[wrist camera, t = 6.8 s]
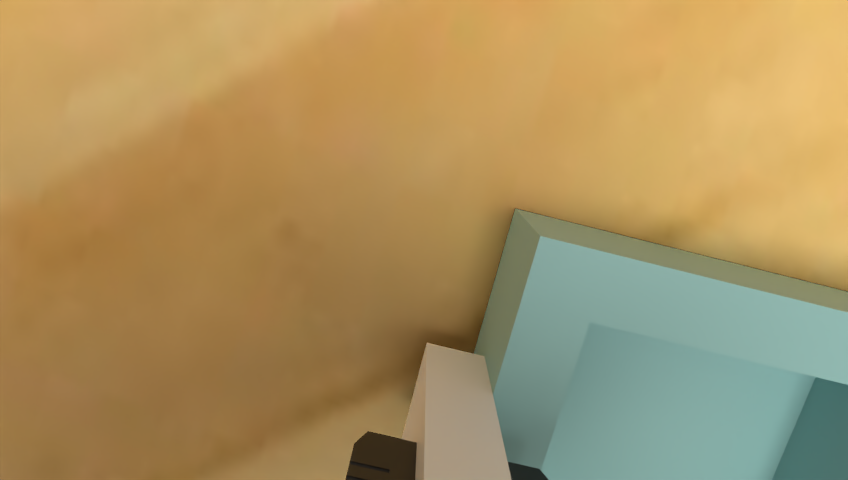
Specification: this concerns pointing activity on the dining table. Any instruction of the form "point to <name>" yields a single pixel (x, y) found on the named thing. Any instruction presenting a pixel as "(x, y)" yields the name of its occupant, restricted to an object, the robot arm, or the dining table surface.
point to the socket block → (661, 361)
